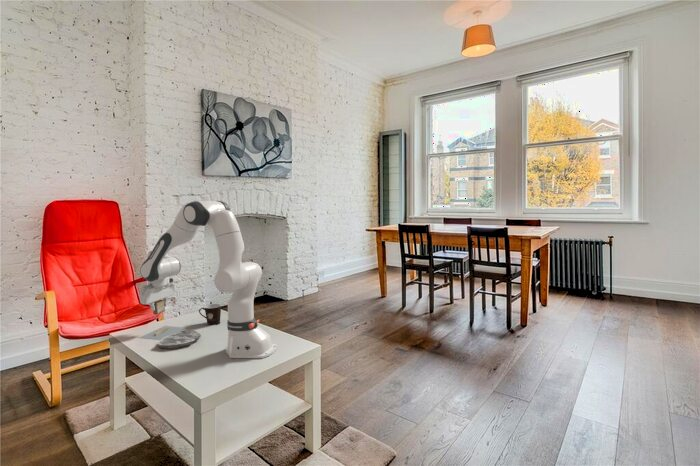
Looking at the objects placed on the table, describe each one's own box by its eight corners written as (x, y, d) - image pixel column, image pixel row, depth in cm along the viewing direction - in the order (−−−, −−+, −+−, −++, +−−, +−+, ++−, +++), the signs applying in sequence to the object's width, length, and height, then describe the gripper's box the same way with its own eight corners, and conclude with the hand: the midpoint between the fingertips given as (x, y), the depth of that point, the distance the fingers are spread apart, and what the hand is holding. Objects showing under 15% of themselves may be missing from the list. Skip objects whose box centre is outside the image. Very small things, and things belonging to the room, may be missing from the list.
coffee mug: (225, 322, 204) (224, 305, 203) (212, 327, 197) (211, 309, 196) (211, 319, 210) (210, 302, 209) (198, 323, 203) (197, 306, 202)
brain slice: (184, 353, 164) (184, 346, 164) (151, 350, 168) (150, 344, 167) (209, 337, 184) (209, 331, 183) (179, 335, 187) (178, 329, 187)
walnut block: (165, 311, 191) (164, 299, 190) (157, 314, 185) (156, 302, 185) (161, 311, 191) (160, 299, 191) (153, 314, 186) (152, 302, 185)
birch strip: (169, 329, 193) (169, 327, 193) (156, 335, 185) (156, 333, 184) (167, 329, 193) (167, 327, 193) (154, 335, 185) (154, 333, 185)
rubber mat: (187, 328, 196) (187, 327, 196) (162, 341, 178) (162, 340, 178) (165, 326, 199) (165, 325, 199) (138, 338, 182) (138, 337, 182)
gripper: (146, 286, 176) (148, 314, 177) (176, 277, 196) (178, 303, 197) (135, 286, 178) (137, 314, 179) (166, 277, 197) (168, 302, 199)
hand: (159, 308), depth 188 cm, fingers closed on walnut block, 5 cm apart
